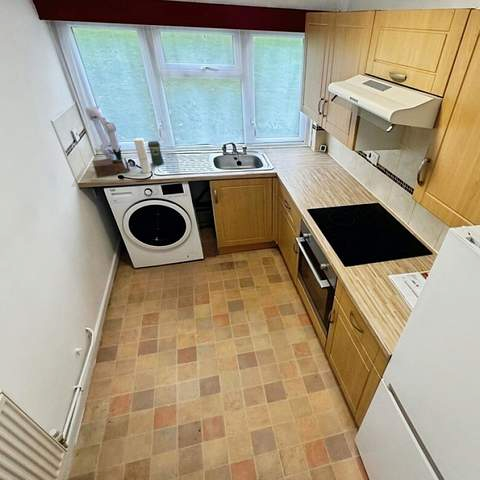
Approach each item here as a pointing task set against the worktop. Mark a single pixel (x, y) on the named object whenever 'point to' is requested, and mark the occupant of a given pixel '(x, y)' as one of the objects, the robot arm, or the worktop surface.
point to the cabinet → (104, 167)
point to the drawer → (121, 165)
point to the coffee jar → (155, 152)
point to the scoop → (115, 155)
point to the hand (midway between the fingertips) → (119, 158)
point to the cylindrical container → (142, 155)
